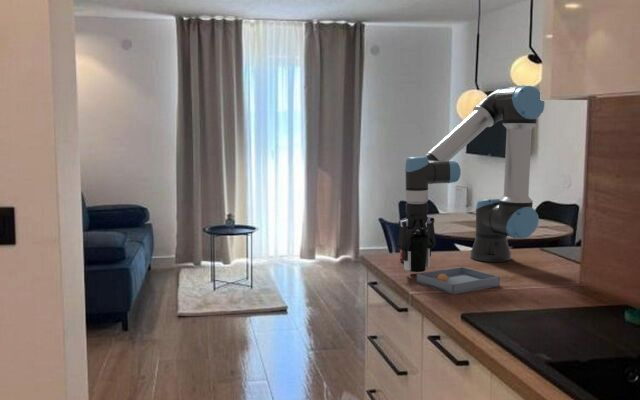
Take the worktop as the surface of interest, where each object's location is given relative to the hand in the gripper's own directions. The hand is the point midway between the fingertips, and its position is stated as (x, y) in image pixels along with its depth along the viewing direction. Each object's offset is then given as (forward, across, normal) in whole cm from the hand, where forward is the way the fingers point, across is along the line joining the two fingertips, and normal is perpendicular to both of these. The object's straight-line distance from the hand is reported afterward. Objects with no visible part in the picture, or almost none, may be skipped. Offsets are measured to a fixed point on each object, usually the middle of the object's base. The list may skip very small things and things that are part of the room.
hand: (416, 268), depth 219 cm
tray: (+2, -2, +17) cm, 18 cm away
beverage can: (+3, -10, -18) cm, 21 cm away
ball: (+1, +4, +17) cm, 18 cm away
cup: (+1, 0, 0) cm, 1 cm away
